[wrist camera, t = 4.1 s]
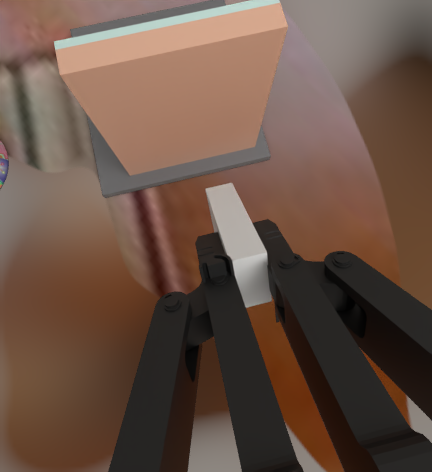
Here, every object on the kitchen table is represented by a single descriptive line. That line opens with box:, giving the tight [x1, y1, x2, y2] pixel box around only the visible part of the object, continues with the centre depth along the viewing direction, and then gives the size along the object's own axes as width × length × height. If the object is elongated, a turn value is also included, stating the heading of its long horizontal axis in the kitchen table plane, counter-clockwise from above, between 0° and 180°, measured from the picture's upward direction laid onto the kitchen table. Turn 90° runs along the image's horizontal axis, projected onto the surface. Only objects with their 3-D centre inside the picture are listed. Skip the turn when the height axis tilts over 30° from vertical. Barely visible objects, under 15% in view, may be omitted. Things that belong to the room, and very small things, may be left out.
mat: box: [70, 0, 271, 198], centre depth 32 cm, size 18×16×1 cm
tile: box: [54, 0, 288, 176], centre depth 24 cm, size 2×12×14 cm, turn 104°
